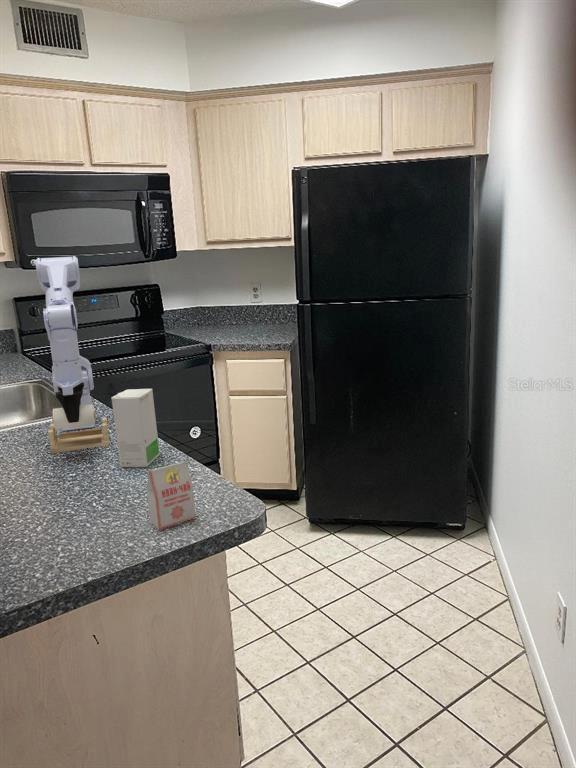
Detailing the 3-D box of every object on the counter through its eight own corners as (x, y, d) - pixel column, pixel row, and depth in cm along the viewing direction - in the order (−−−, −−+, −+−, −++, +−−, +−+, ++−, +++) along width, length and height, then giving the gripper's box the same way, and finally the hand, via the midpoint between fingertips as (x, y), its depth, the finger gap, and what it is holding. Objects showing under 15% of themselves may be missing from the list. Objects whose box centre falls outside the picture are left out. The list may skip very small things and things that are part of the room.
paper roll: (53, 431, 132) (50, 409, 131) (55, 429, 136) (52, 408, 136) (95, 426, 134) (93, 404, 134) (96, 424, 139) (94, 403, 138)
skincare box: (146, 468, 128) (139, 397, 124) (117, 467, 129) (108, 397, 125) (160, 454, 136) (154, 387, 132) (133, 454, 137) (125, 387, 133)
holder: (53, 442, 147) (50, 423, 146) (108, 435, 151) (106, 416, 149) (50, 453, 140) (47, 432, 138) (108, 445, 143) (106, 425, 142)
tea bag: (150, 522, 103) (144, 467, 101) (186, 511, 107) (181, 458, 104) (158, 530, 100) (152, 474, 98) (195, 518, 104) (190, 464, 101)
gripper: (84, 363, 126) (92, 425, 129) (86, 352, 140) (93, 408, 143) (48, 367, 124) (57, 429, 127) (54, 355, 138) (62, 411, 141)
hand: (74, 418), depth 135 cm, fingers closed on paper roll, 5 cm apart
